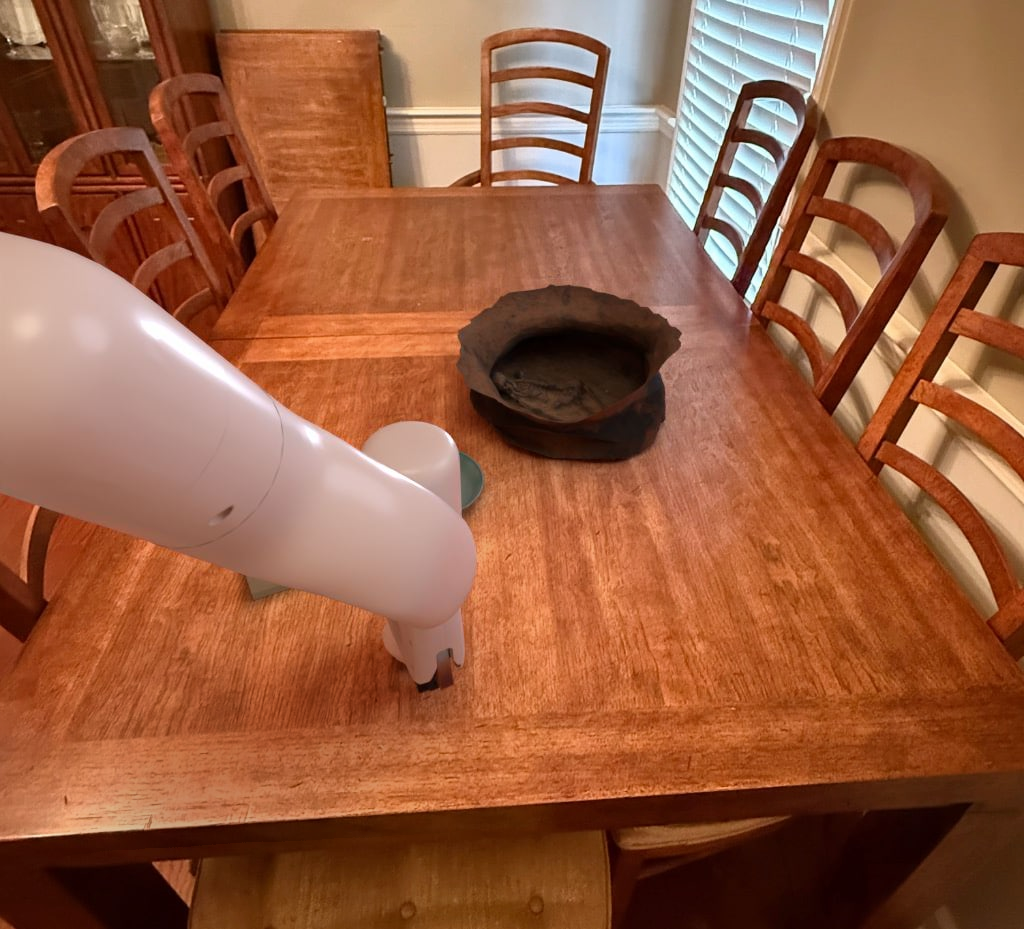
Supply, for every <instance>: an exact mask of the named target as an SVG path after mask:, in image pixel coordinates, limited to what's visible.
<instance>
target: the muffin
mask: <svg viewBox="0 0 1024 929" xmlns="http://www.w3.org/2000/svg"><path fill="white" fill-rule="evenodd" d="M382 641H383V642H382V643H383V646H384V647H385V650H386V651H387V652H388V653H389V654H390V655H391V656H392V657H393V658H394V659H395V660H397V661H398V662H400V663H402V664H403V665H406V664H405V662H404V660H403V657H402V655H401V653H400V650H399V648H398V646H397V643H396V641H395V638H394V636H393V633H392V631H391V629H390V626H389V624H388V621H387V622H386V624H385V625H384V628H383V631H382Z"/></svg>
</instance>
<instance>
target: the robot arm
mask: <svg viewBox="0 0 1024 929" xmlns="http://www.w3.org/2000/svg"><path fill="white" fill-rule="evenodd" d="M458 450H459V448H458V446H457V444H456V442H455V440H454V439H453V437H452V436H451V435H450V434H449V433H448V432H447V431H446V430H445V429H444V428H441V427H440V426H438V425H435V424H432V423H429V422H425V421H421V420H404V421H397V422H394V423H389V424H388V425H385V426H383V427H381V428H379V429H377V430H375V431H374V432H373V433H372V434H370V435H369V436H368V438H367V439H366V440H365V441H364V443H363V445H362V447H361V448H360V450H359V448H356V447H355V446H353V445H351V444H350V443H348V442H347V441H345V440H343V439H342V438H340V437H338V436H337V435H335V434H334V433H331V432H330V431H328V430H326V429H324V428H323V427H320V426H319V425H316V424H315V423H313V422H311V421H309V420H307V419H306V418H304V417H302V416H300V415H298V414H297V413H295V412H294V411H292V410H291V409H289V408H288V407H287V406H285V405H283V404H282V403H280V401H278V400H277V399H276V398H275V397H274V396H272V395H271V394H270V393H268V392H267V391H266V390H264V389H263V388H262V387H261V386H259V385H258V384H257V383H256V382H255V381H254V380H252V379H250V377H249V376H247V375H246V374H245V373H243V371H241V370H239V368H237V367H236V366H235V365H234V364H232V363H231V362H230V361H228V360H227V359H226V358H225V357H224V356H222V355H221V354H220V353H218V351H216V350H215V349H213V348H212V347H211V346H210V345H209V344H207V342H205V341H204V340H202V339H201V338H200V337H199V336H198V335H196V334H195V333H194V332H192V331H191V330H190V329H189V328H187V326H185V325H184V324H182V323H181V322H180V321H179V320H177V319H176V318H175V317H174V316H172V315H171V314H170V313H168V312H167V311H166V310H165V308H162V307H161V305H159V304H158V303H156V302H155V301H154V300H152V299H151V298H150V297H149V296H147V295H146V294H145V293H143V292H142V291H141V290H140V289H138V288H137V287H136V286H134V285H133V284H132V283H130V282H129V281H127V279H125V278H124V277H122V276H120V275H119V274H117V273H115V272H113V271H112V270H110V269H108V268H107V267H106V266H104V265H102V264H100V263H98V262H96V261H94V260H92V259H90V258H87V257H85V256H84V255H81V254H79V253H77V252H74V251H71V250H70V249H66V248H63V247H61V246H57V245H54V244H52V243H48V242H44V241H40V240H37V239H33V238H29V237H24V236H20V235H16V234H12V233H7V232H3V231H0V494H3V495H5V496H7V497H10V498H13V499H16V500H19V501H21V502H22V501H23V502H26V503H29V504H31V505H34V506H38V507H40V508H43V509H47V510H50V511H52V512H56V513H59V514H61V515H64V516H67V517H70V518H72V519H73V518H74V519H77V520H79V521H83V522H86V523H89V524H94V525H97V526H100V527H102V528H106V529H108V530H111V531H116V532H118V533H121V534H123V535H127V536H130V537H133V538H136V539H139V540H142V541H145V542H148V543H151V544H153V545H155V546H159V547H161V548H164V549H167V550H170V551H173V552H176V553H180V554H181V555H185V556H187V557H190V558H193V559H197V560H200V561H203V562H205V563H209V564H212V565H214V566H216V567H220V568H222V569H226V570H229V571H231V572H234V573H235V574H240V575H243V576H245V577H246V576H248V577H251V578H255V579H258V580H262V581H265V582H269V583H273V584H277V585H281V586H285V587H289V588H290V589H293V590H297V591H301V592H305V593H308V594H313V595H315V596H320V597H323V598H327V599H330V600H334V601H336V602H338V603H339V602H340V603H343V604H345V605H347V606H351V607H354V608H357V609H360V610H363V611H366V612H369V613H372V614H374V615H377V616H380V617H382V618H385V619H386V620H387V622H388V624H389V626H390V629H391V631H392V633H393V636H394V638H395V641H396V643H397V646H398V648H399V650H400V653H401V655H402V657H403V660H404V662H405V664H404V665H405V666H406V669H407V671H408V673H409V676H410V677H411V679H412V681H413V683H414V685H416V689H417V692H418V693H419V694H423V693H426V692H428V691H430V692H433V691H435V690H438V689H440V691H441V692H444V691H446V690H448V689H450V688H454V687H455V681H454V676H453V671H452V670H453V669H452V664H451V660H452V662H453V664H454V666H455V668H456V669H459V670H460V669H462V667H463V666H464V664H465V659H466V650H465V649H466V644H465V634H464V631H465V630H464V623H463V615H462V609H461V608H462V606H463V605H464V603H465V601H466V600H467V598H468V596H469V594H470V592H471V590H472V589H473V588H472V587H473V584H474V581H475V578H476V573H477V564H478V556H477V555H478V554H477V553H478V552H477V547H476V541H475V538H474V535H473V532H472V530H471V528H470V525H469V524H468V523H467V522H466V520H465V519H464V518H463V511H462V507H461V480H460V459H459V452H458Z"/></svg>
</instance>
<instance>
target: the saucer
mask: <svg viewBox="0 0 1024 929" xmlns="http://www.w3.org/2000/svg"><path fill="white" fill-rule="evenodd" d="M458 452H459V459H460V480H461V507H462V512H463V511H465V510H466V509H468V508H469V507H470V506H471V505H472V504H473V503H474V502H475V501H476V500H477V499H478V497H479V496H480V495H481V493H482V492H483V490H484V484H485V476H484V471H483V469H482V468H481V466H480V464H479V463H478V462H477V461H476V460H475V459H474V458H473V457H472V456H470V455H469V454H467V453H465V452H464V451H461V450H459V449H458Z"/></svg>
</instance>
